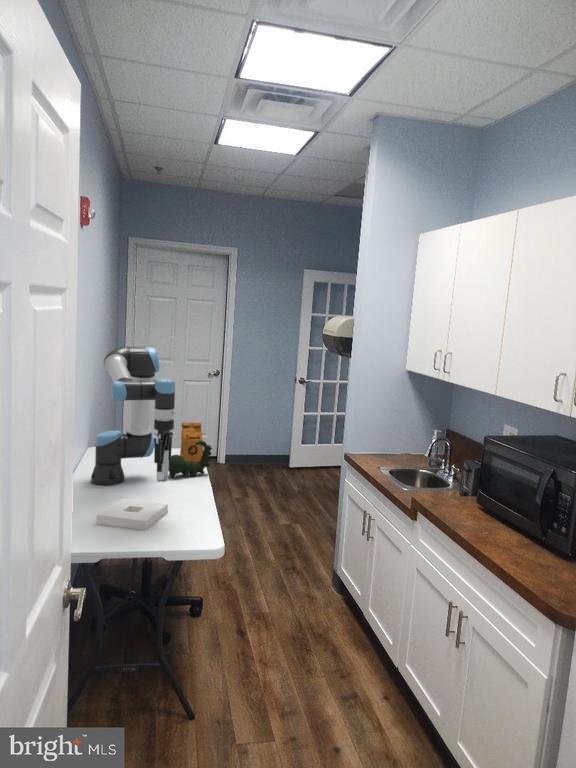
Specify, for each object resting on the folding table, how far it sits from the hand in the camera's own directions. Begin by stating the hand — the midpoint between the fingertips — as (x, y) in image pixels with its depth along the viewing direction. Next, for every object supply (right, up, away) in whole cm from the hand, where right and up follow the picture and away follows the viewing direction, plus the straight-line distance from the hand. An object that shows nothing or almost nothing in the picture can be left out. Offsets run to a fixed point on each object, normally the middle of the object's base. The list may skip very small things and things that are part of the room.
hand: (162, 477), depth 214 cm
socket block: (-11, -16, -1) cm, 19 cm away
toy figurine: (-2, -10, +59) cm, 60 cm away
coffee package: (-4, -6, +87) cm, 87 cm away
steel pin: (0, -1, 0) cm, 1 cm away
